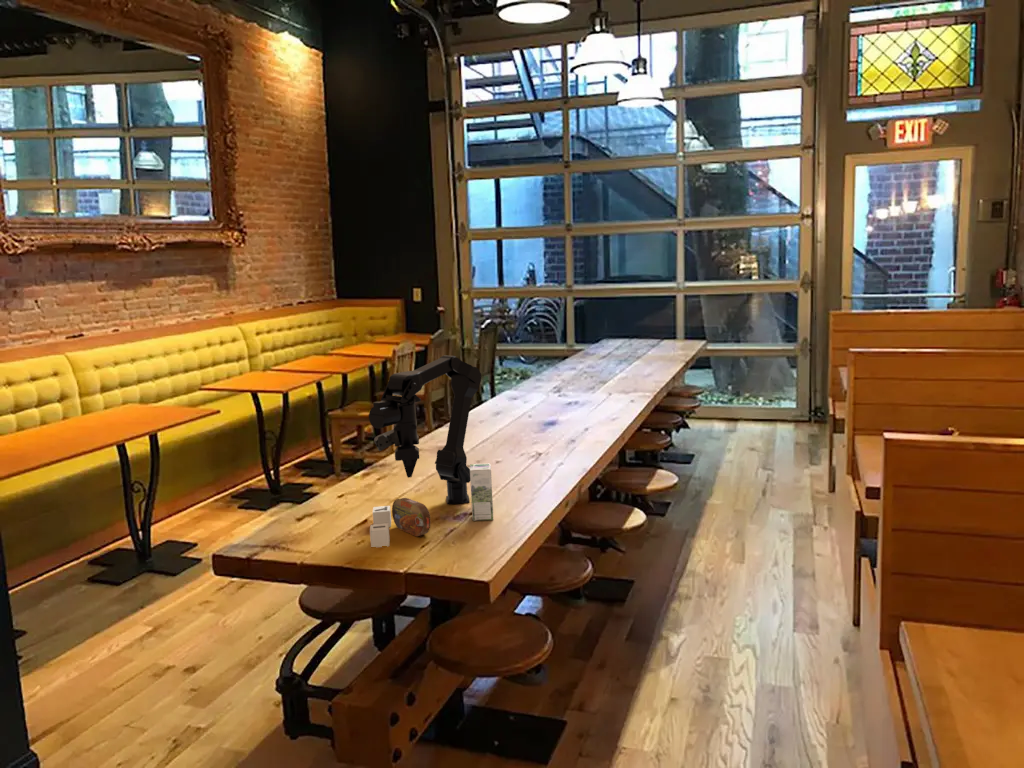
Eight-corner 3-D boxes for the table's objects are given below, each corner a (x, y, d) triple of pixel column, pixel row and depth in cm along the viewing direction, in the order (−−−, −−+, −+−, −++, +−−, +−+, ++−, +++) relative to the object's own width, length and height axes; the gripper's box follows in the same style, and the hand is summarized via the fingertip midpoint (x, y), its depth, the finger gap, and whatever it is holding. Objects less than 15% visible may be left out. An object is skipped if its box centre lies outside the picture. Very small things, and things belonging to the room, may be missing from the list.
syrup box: (493, 513, 227) (490, 462, 225) (493, 520, 221) (490, 468, 219) (472, 514, 227) (469, 463, 224) (472, 521, 221) (469, 469, 219)
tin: (392, 526, 221) (389, 495, 220) (402, 523, 223) (399, 493, 222) (423, 540, 210) (421, 508, 208) (433, 537, 212) (431, 505, 210)
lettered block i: (372, 541, 211) (370, 524, 210) (389, 540, 211) (388, 522, 210) (371, 548, 206) (369, 530, 205) (389, 546, 207) (388, 529, 206)
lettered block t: (374, 522, 224) (373, 506, 223) (391, 521, 225) (390, 505, 224) (373, 528, 220) (372, 512, 219) (390, 527, 220) (389, 510, 220)
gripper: (376, 415, 228) (380, 469, 231) (373, 431, 210) (377, 490, 213) (417, 412, 230) (420, 466, 232) (417, 427, 211) (421, 486, 214)
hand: (409, 477), depth 223 cm, fingers closed
